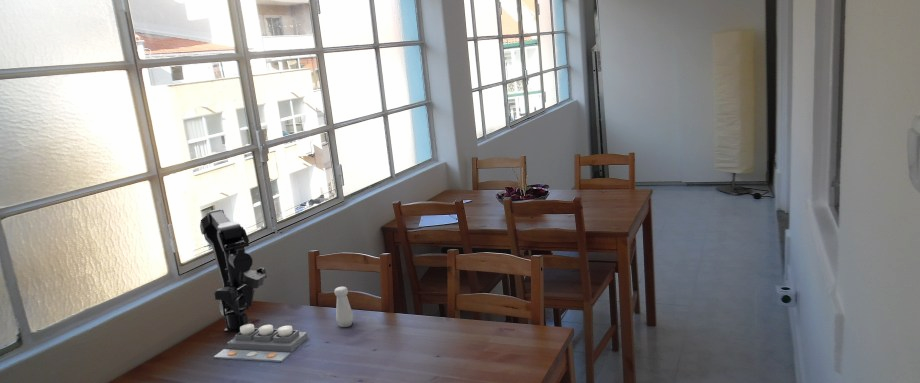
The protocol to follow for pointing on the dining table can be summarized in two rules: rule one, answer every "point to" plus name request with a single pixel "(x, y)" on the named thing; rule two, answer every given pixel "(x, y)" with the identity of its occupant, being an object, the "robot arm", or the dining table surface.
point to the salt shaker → (343, 308)
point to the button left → (247, 329)
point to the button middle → (266, 330)
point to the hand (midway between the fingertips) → (244, 310)
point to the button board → (268, 341)
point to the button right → (285, 331)
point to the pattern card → (252, 355)
